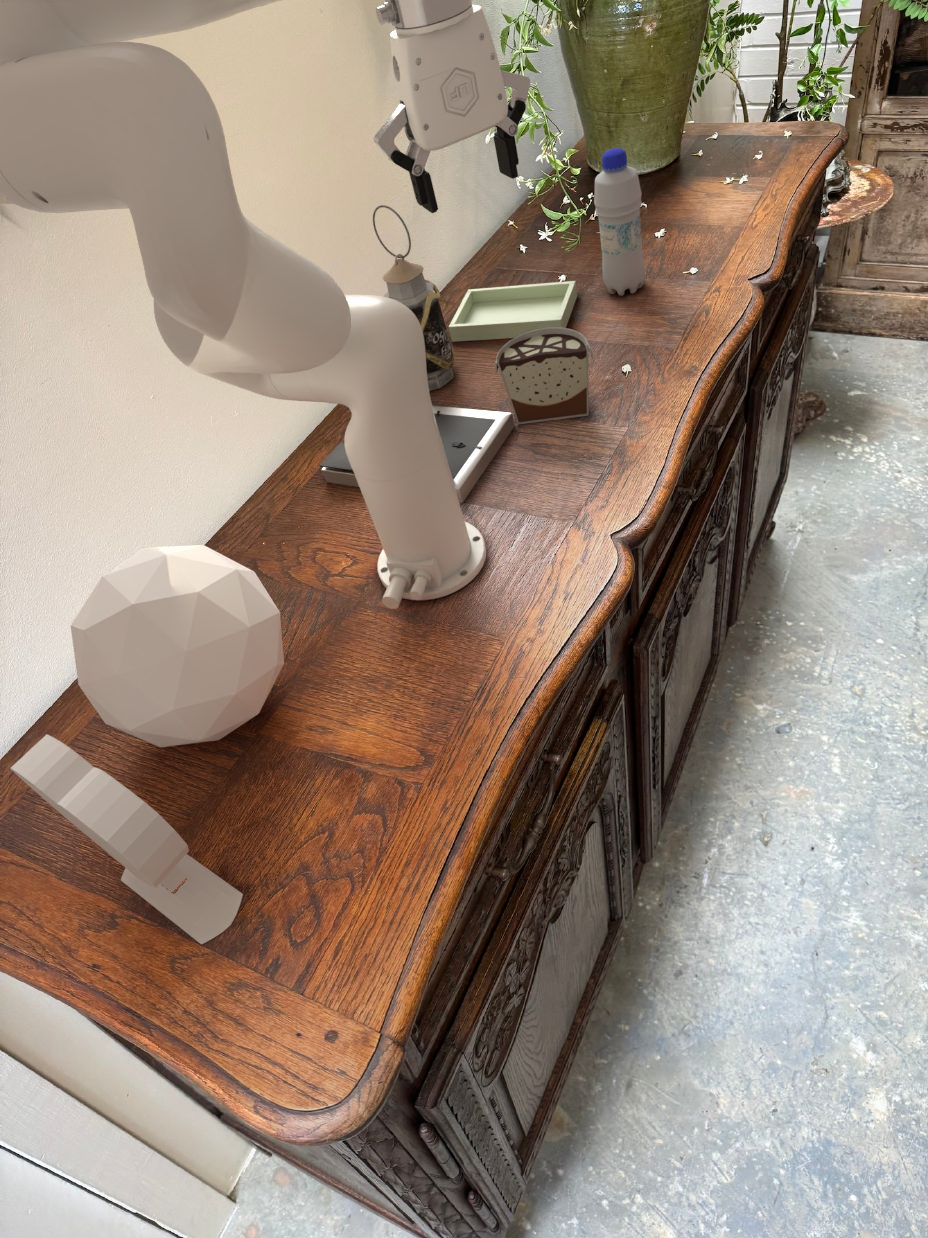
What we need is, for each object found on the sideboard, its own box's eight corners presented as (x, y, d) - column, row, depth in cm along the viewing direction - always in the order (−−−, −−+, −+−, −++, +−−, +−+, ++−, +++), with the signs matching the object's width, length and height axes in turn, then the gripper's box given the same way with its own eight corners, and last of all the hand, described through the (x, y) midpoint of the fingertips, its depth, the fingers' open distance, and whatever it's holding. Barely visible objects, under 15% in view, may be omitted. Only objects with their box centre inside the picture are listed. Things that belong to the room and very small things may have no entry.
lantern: (471, 371, 122) (429, 195, 104) (433, 400, 119) (383, 223, 101) (430, 358, 127) (383, 188, 109) (392, 386, 124) (338, 215, 106)
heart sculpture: (258, 905, 71) (157, 794, 58) (216, 957, 68) (102, 853, 56) (148, 826, 79) (38, 714, 66) (107, 870, 77) (-15, 762, 64)
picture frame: (326, 482, 111) (462, 502, 102) (319, 465, 109) (457, 484, 100) (384, 413, 120) (515, 426, 110) (378, 396, 118) (511, 407, 108)
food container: (599, 387, 112) (591, 318, 105) (600, 413, 108) (592, 343, 101) (509, 399, 115) (495, 333, 108) (506, 426, 111) (492, 358, 104)
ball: (294, 725, 93) (347, 638, 77) (118, 811, 81) (139, 728, 65) (210, 589, 97) (245, 481, 82) (31, 651, 85) (32, 539, 70)
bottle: (594, 289, 131) (580, 153, 116) (631, 273, 132) (621, 135, 117) (618, 304, 126) (605, 163, 112) (655, 287, 127) (648, 146, 113)
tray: (563, 335, 123) (561, 319, 122) (451, 341, 129) (448, 326, 128) (577, 295, 131) (575, 280, 129) (471, 303, 137) (468, 289, 135)
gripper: (360, 40, 74) (411, 232, 86) (530, -26, 76) (556, 170, 89) (333, 30, 79) (385, 213, 91) (494, -32, 82) (523, 154, 94)
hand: (469, 191), depth 90 cm, fingers open, 9 cm apart
